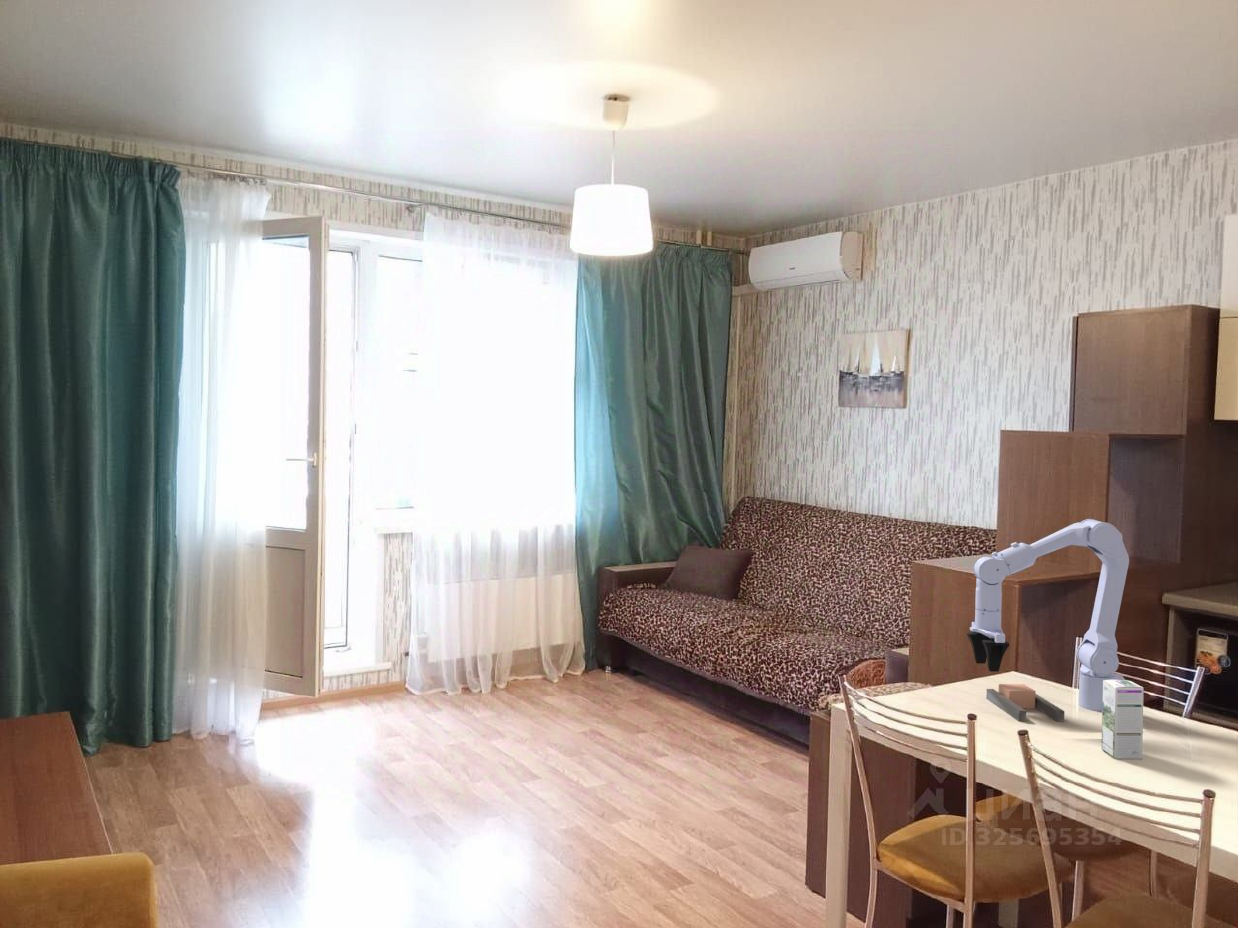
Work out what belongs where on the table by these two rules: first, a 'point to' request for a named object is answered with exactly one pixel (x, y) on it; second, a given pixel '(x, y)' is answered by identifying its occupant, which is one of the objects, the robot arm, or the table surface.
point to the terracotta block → (1018, 694)
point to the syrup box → (1122, 719)
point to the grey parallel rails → (1019, 712)
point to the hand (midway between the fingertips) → (986, 667)
